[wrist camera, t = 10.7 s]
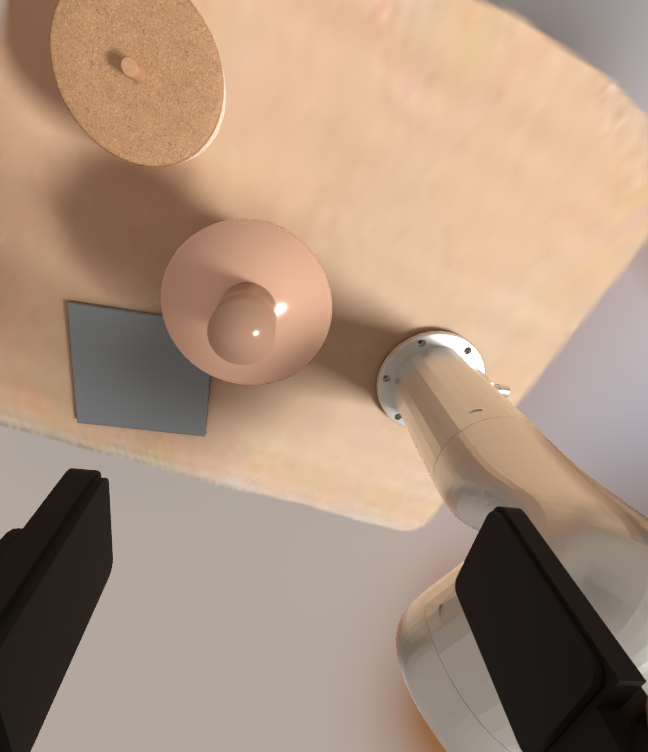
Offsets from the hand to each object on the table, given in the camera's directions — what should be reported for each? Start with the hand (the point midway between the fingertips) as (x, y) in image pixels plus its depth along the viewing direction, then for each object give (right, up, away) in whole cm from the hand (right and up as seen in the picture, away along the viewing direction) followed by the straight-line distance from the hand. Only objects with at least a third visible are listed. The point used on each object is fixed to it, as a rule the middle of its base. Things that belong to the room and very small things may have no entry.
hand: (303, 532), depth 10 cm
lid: (-5, +9, +19) cm, 22 cm away
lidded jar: (-12, +27, +23) cm, 38 cm away
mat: (-19, +4, +33) cm, 39 cm away
